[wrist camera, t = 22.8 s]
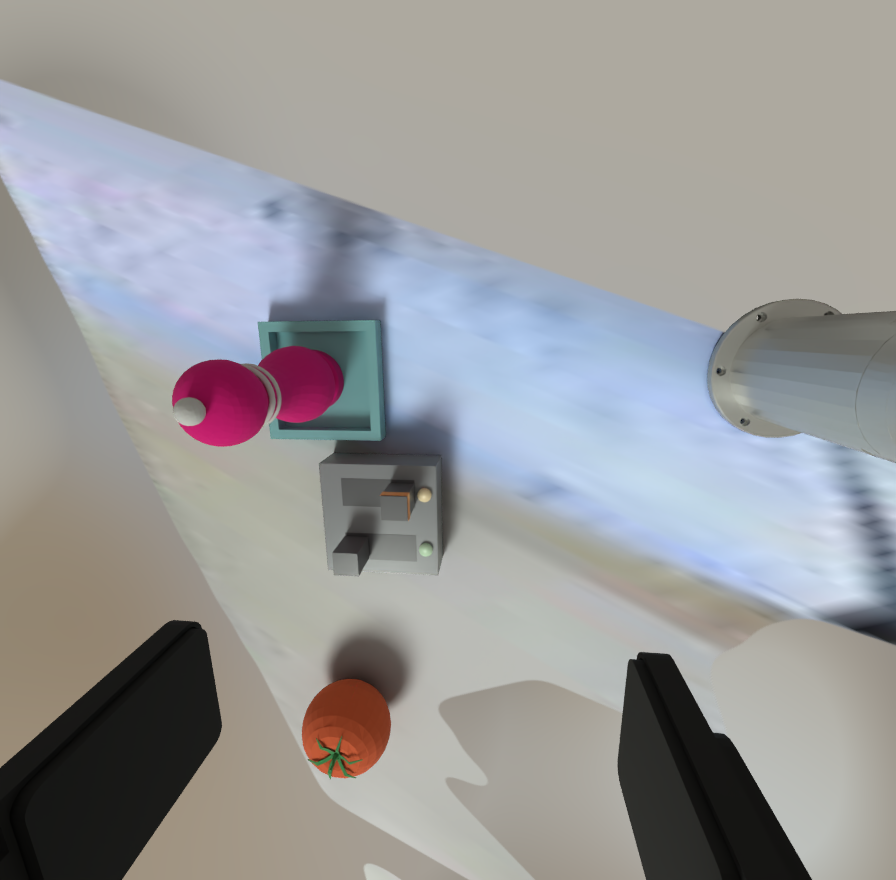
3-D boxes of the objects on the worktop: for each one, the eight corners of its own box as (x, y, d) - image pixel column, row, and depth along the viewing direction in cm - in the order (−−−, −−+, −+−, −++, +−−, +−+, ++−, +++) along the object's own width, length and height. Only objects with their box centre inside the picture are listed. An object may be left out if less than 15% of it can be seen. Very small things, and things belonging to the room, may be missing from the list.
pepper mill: (339, 422, 46) (224, 487, 27) (276, 400, 46) (117, 449, 27) (356, 357, 44) (246, 376, 25) (290, 335, 44) (130, 336, 25)
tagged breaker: (414, 483, 43) (407, 496, 39) (415, 506, 43) (408, 521, 40) (389, 482, 43) (379, 495, 39) (390, 505, 43) (380, 520, 40)
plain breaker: (368, 536, 45) (357, 553, 41) (369, 557, 45) (358, 576, 42) (344, 535, 45) (332, 552, 41) (346, 556, 45) (333, 575, 42)
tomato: (312, 663, 55) (272, 733, 45) (388, 656, 53) (364, 728, 43) (332, 728, 57) (298, 809, 47) (406, 724, 55) (387, 806, 46)
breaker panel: (441, 455, 46) (435, 467, 42) (442, 556, 49) (437, 577, 45) (333, 452, 47) (317, 464, 43) (341, 551, 50) (327, 571, 46)
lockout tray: (380, 320, 43) (374, 320, 41) (385, 436, 46) (380, 440, 44) (267, 322, 45) (257, 321, 43) (279, 434, 47) (270, 438, 46)
